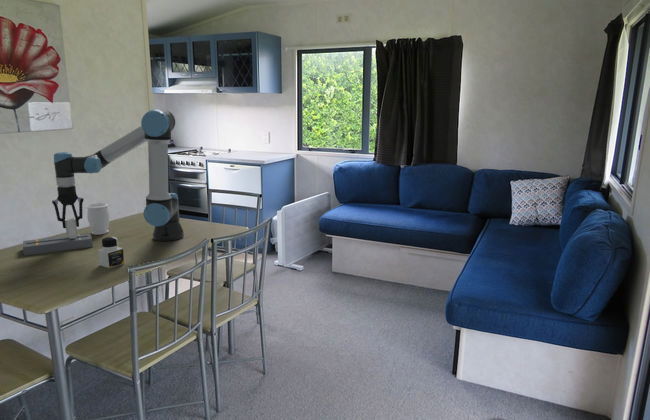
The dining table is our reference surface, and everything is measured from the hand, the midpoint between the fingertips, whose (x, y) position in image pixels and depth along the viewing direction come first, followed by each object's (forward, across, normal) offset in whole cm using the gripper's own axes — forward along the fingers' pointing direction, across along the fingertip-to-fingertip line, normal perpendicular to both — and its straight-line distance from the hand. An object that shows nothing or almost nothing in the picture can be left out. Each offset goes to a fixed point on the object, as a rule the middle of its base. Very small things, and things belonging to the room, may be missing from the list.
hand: (71, 233), depth 225 cm
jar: (+6, -14, -19) cm, 24 cm away
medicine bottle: (+6, -13, +37) cm, 39 cm away
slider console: (+6, +6, 0) cm, 9 cm away
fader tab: (+4, 0, 0) cm, 4 cm away
